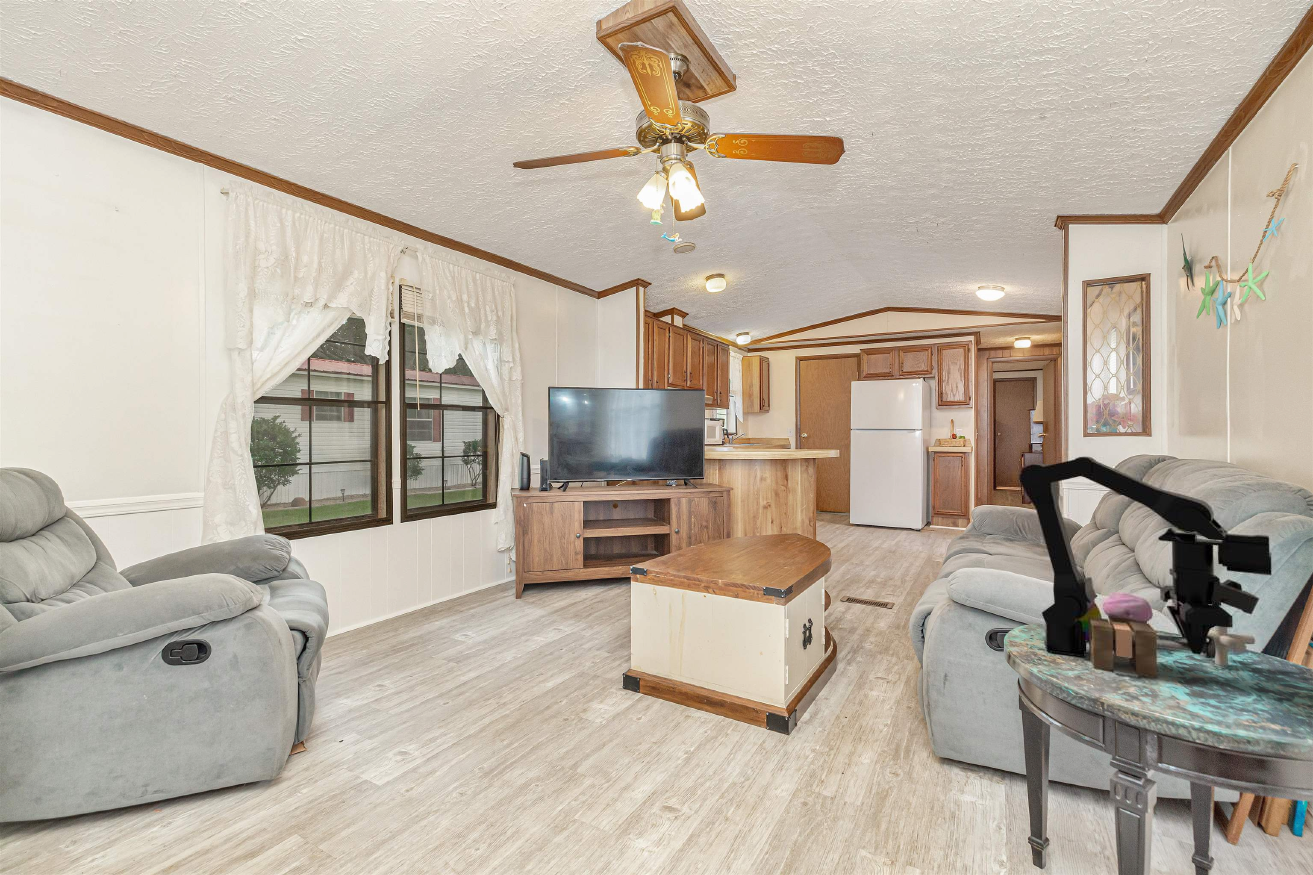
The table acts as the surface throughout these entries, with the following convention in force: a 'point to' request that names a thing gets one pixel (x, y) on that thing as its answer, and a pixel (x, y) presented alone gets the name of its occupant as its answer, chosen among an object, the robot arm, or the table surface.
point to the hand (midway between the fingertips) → (1194, 651)
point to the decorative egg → (1085, 619)
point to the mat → (1123, 667)
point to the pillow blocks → (1141, 650)
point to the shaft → (1181, 644)
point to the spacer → (1122, 640)
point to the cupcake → (1127, 608)
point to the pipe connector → (1228, 643)
